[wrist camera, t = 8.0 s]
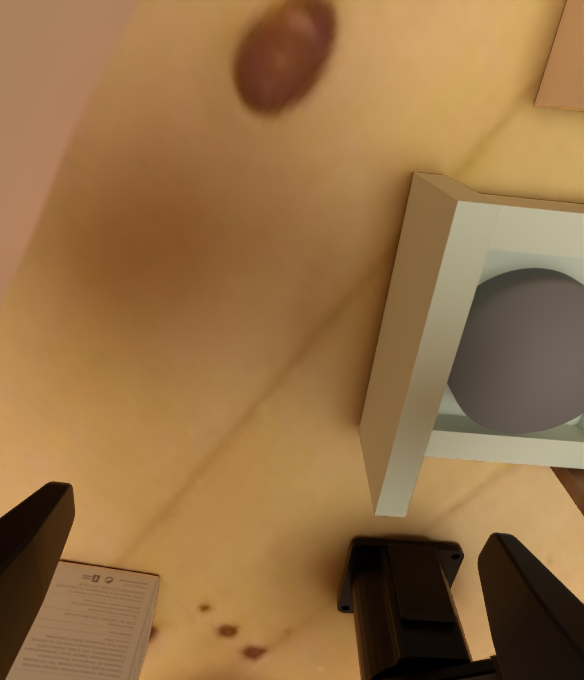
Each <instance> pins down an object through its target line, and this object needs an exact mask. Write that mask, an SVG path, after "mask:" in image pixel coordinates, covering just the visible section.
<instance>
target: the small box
mask: <svg viewBox="0 0 584 680" xmlns="http://www.w3.org/2000/svg"><path fill="white" fill-rule="evenodd" d="M158 584H159V577H158V576H154V575H148V574H143V573H136V572H130V571H123V570H116V569H110V568H104V567H97V566H91V565H83V564H76V563H68V562H61V561H59V562H58V565H57V568H56V570H55V573H54V576H53V578H52V581H51V584H50V586H49V589H48V592H47V594H46V597H45V599H44V602H43V604H42V606H41V608H40V610H39V612H38V615H37V617H36V619H35V621H34V623H33V625H32V627H31V629H30V631H29V633H28V635H27V637H26V639H25V641H24V643H23V645H22V647H21V649H20V651H19V653H18V655H17V657H16V659H15V661H14V663H13V665H12V667H11V669H10V671H9V673H8V675H7V678H6V680H139V676H140V673H141V669H142V665H143V662H144V658H145V655H146V651H147V647H148V643H149V638H150V632H151V627H152V621H153V615H154V609H155V604H156V598H157V591H158Z"/></svg>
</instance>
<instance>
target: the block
mask: <svg viewBox="0 0 584 680" xmlns="http://www.w3.org/2000/svg"><path fill="white" fill-rule="evenodd" d="M534 106H542V107H551V108H559V109H568V110H577V111H584V0H567V2H566V5H565V8H564V11H563V14H562V18H561V21H560V24H559V27H558V30H557V34H556V37H555V40H554V43H553V46H552V50H551V53H550V56H549V59H548V62H547V66H546V69H545V72H544V75H543V78H542V82H541V85H540V88H539V91H538V94H537V98H536V101H535V104H534Z"/></svg>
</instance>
